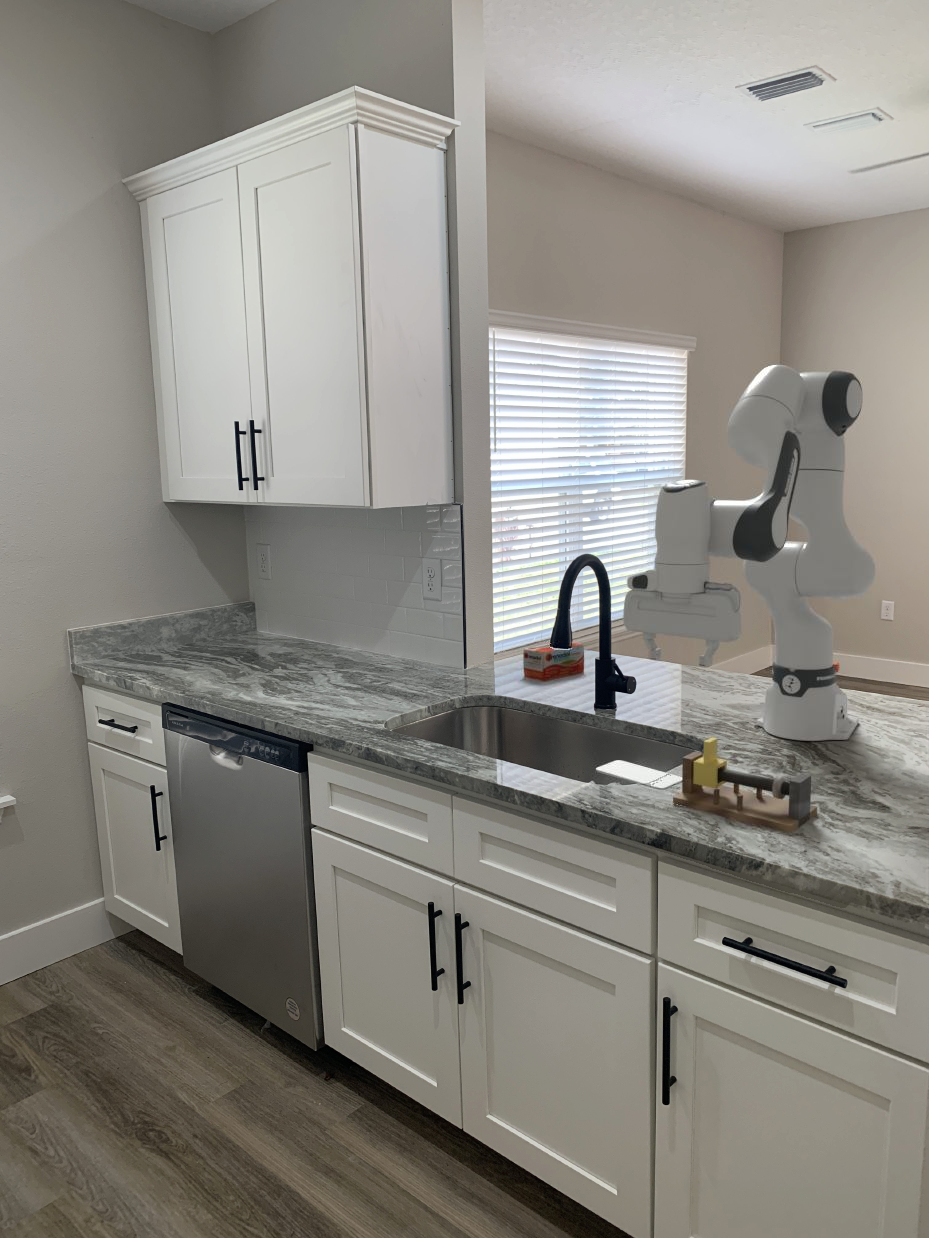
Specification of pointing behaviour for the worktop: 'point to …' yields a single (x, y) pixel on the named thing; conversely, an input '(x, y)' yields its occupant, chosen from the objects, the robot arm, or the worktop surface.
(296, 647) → the worktop surface
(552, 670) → the medicine box
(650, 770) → the smartphone
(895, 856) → the worktop surface
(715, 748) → the sleeve
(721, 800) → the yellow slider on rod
